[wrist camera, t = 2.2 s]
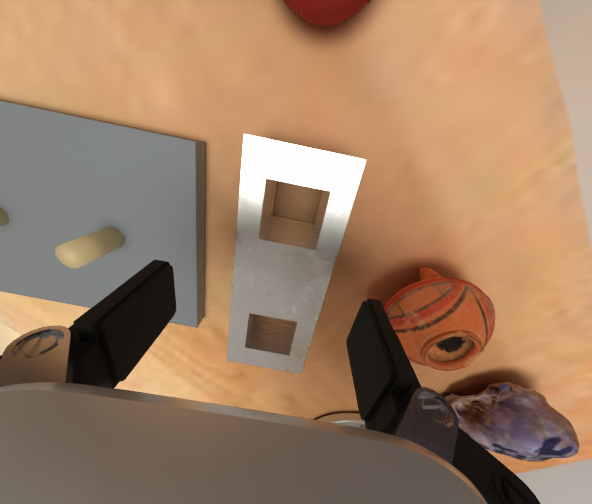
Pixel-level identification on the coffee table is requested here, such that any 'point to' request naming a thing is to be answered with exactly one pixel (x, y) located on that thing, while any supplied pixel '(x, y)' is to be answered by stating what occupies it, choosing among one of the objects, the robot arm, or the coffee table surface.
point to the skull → (515, 423)
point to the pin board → (98, 208)
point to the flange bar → (285, 251)
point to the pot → (441, 320)
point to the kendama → (326, 10)
